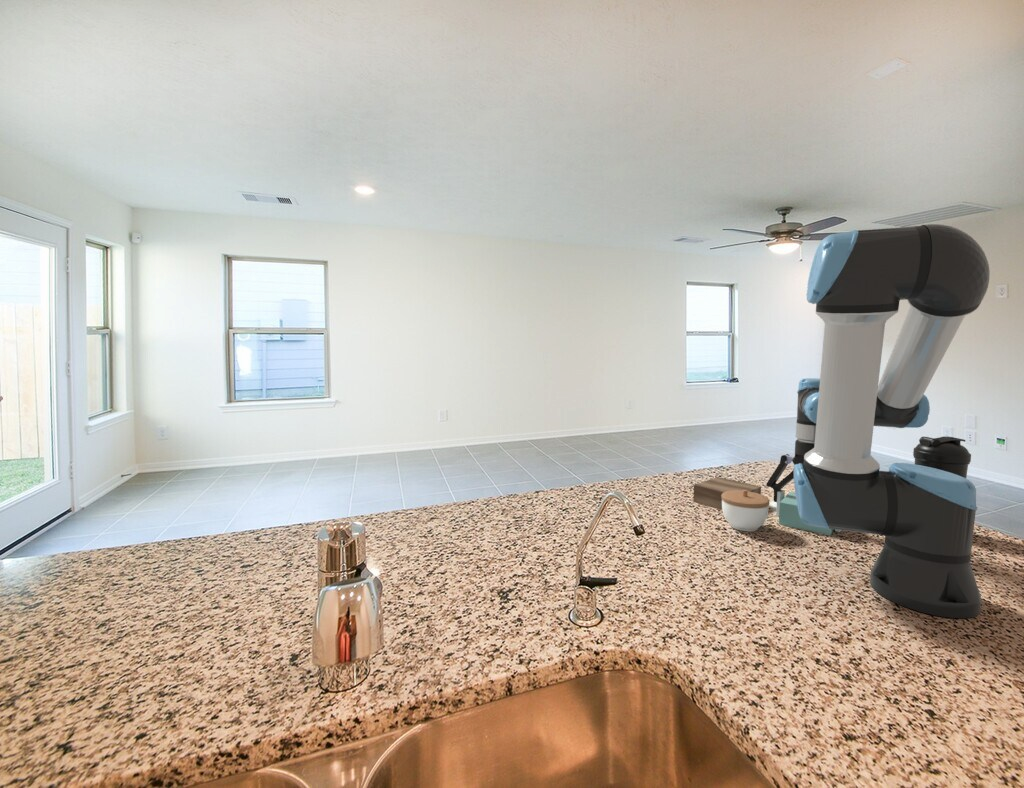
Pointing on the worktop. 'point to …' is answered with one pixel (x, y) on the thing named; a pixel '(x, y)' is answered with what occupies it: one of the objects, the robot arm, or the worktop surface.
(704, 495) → the walnut base
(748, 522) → the lidded jar
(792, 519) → the teal brick
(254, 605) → the worktop surface
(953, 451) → the water bottle
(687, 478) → the worktop surface
